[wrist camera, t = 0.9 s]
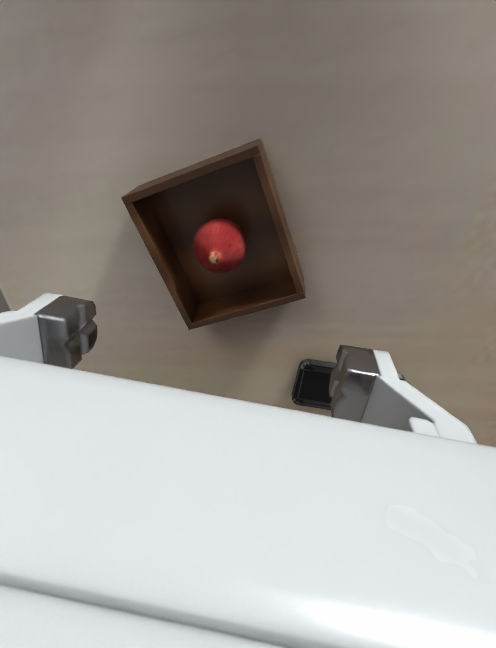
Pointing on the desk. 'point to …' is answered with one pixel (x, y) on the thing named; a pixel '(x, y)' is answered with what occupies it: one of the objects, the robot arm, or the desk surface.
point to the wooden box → (212, 203)
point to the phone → (314, 384)
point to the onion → (219, 245)
